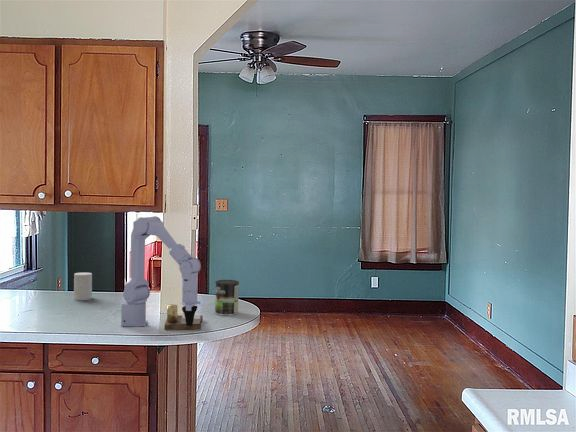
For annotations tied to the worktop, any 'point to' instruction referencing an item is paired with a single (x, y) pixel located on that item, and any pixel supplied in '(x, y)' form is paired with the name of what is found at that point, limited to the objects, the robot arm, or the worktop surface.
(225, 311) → the coffee can
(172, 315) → the brass pin
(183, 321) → the cover
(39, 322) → the worktop surface
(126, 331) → the worktop surface
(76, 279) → the cup
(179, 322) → the walnut board
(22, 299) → the worktop surface
